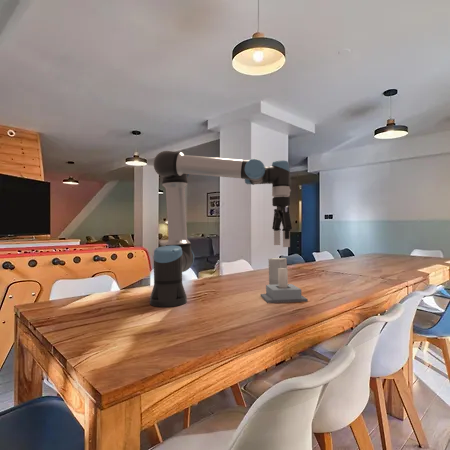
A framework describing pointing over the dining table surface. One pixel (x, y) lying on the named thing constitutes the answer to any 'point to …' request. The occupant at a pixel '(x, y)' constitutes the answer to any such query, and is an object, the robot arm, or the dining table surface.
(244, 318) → the dining table surface
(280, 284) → the dowel
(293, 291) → the socket
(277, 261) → the skincare box
